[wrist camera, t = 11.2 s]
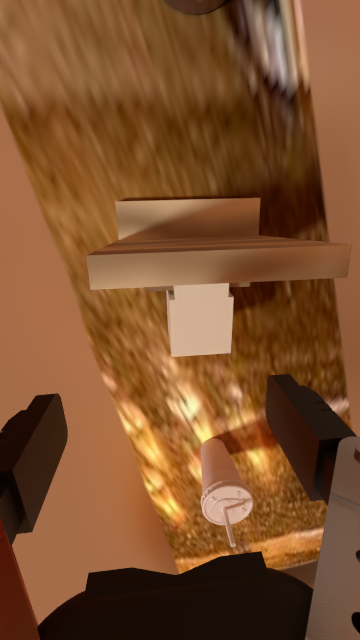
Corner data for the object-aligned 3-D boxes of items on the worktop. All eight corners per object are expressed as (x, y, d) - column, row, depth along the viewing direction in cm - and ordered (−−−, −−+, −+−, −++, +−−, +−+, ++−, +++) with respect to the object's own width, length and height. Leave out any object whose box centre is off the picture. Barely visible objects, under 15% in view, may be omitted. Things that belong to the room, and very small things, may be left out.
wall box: (165, 262, 32) (168, 279, 26) (218, 259, 33) (234, 276, 26) (168, 333, 36) (171, 363, 30) (216, 330, 36) (230, 359, 30)
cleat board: (116, 202, 33) (76, 178, 15) (256, 198, 34) (362, 172, 17) (123, 278, 35) (95, 329, 18) (253, 272, 36) (341, 314, 19)
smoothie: (186, 438, 43) (200, 533, 30) (227, 425, 43) (259, 513, 30) (199, 470, 45) (217, 571, 32) (238, 457, 45) (273, 553, 32)
